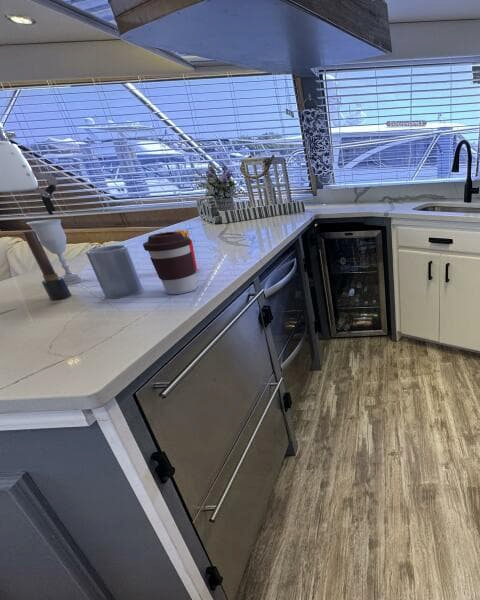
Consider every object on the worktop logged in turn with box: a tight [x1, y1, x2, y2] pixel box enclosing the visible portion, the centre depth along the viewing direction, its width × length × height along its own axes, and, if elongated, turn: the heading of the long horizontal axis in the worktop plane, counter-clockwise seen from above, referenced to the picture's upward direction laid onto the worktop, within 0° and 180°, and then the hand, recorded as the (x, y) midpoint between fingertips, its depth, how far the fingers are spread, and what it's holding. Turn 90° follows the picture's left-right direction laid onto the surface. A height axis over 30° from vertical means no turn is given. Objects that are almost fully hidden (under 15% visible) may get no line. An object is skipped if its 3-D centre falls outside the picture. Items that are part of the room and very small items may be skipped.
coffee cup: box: [142, 231, 199, 295], centre depth 83 cm, size 10×10×15 cm
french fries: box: [159, 229, 198, 271], centre depth 99 cm, size 9×4×13 cm, turn 137°
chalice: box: [26, 218, 85, 286], centre depth 93 cm, size 7×7×18 cm
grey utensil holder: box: [85, 244, 144, 299], centre depth 83 cm, size 8×8×12 cm
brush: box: [21, 229, 72, 301], centre depth 81 cm, size 4×4×18 cm
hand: (23, 217), depth 76 cm, fingers open, 9 cm apart
